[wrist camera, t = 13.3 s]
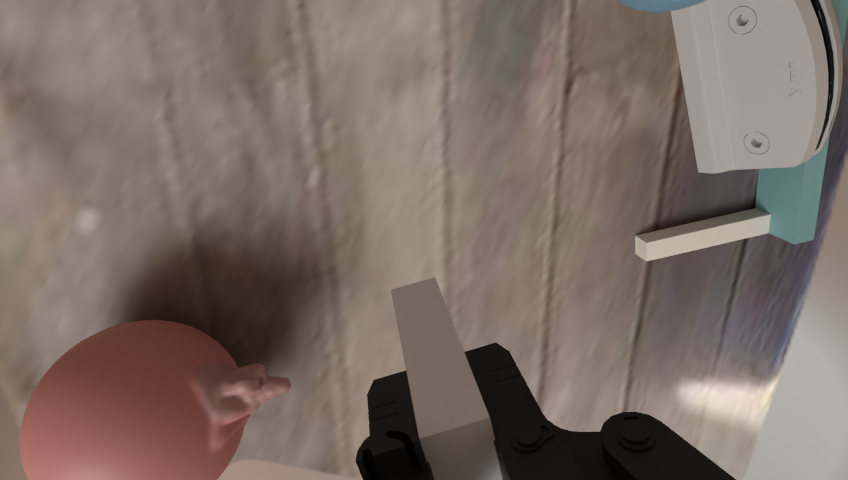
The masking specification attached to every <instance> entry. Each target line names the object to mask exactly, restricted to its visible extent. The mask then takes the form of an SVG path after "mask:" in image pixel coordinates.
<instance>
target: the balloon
mask: <svg viewBox="0 0 848 480" xmlns="http://www.w3.org/2000/svg"><path fill="white" fill-rule="evenodd" d="M290 387H291V382H290V380H289V379H288V378H281V377H270V376H268V374H267V369H266V367H265V366H263V365H262V364H258V363H256V364H251V365H247V366H244V367H240V368H238V367H237V365H236V363H235V362H234V360H233V358H232V357H231V356H230V354H229V353H228V352H227V351H226V350H225V349H224V347H223V346H221V345H220V344H219V343H218V342H217V341H216V340H215V339H213V338H212V337H210V336H209V335H207V334H206V333H204V332H202V331H200V330H198V329H196V328H193V327H191V326H188V325H185V324H181V323H177V322H172V321H164V320H142V321H134V322H128V323H124V324H120V325H116V326H113V327H110V328H107V329H105V330H102V331H100V332H98V333H96V334H94V335H92V336H90V337H88V338H86V339H85V340H83V341H81V342H80V343H78V344H77V345H75V346H74V347H72V348H71V349H70V350H69V351H67V352H66V353H65V354H64V355H63V356H61V357H60V358H59V359H58V360H57V361H56V362H55V363H54V364H53V365H52V366H51V368H50V369H49V370H48V371H47V372H46V374H45V375H44V376H43V377H42V379H41V380H40V382H39V383H38V385H37V387H36V388H35V390H34V392H33V394H32V396H31V398H30V400H29V402H28V405H27V407H26V410H25V413H24V416H23V420H22V425H21V432H20V453H21V459H22V464H23V467H24V471H25V474H26V476H27V478H28V480H217V479H218V478H219V477H220V476H221V474H222V473H223V472H224V470H225V469H226V467H227V466H228V464H229V463H230V461H231V459H232V458H233V456H234V454H235V452H236V450H237V448H238V445H239V443H240V440H241V437H242V434H243V430H244V426H245V425H246V423H247V420H248V418H249V416H250V414H251V413H253V412H254V411H256V410H257V409H258V407H259V406H260V405H261V404H262V403H263V402H266V401H267V400H269V399H271V398H273V397H275V396H277V395H278V394H279V393H285V392H287V391H288V390H289V389H290Z"/></svg>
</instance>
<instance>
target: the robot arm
mask: <svg viewBox="0 0 848 480" xmlns="http://www.w3.org/2000/svg"><path fill="white" fill-rule="evenodd" d="M617 1H618V2H620V3H621V4H623V5H624V6H626V7H629V8H631V9H638V10H642V11H645V12H656V13H657V12H667V11H674V10H679V9H683V8H687V7H690V6H693V5H696V4H699V3H702V2H705V1H707V0H617ZM391 292H392V298H393V303H394V308H395V313H396V319H397V324H398V329H399V334H400V340H401V345H402V350H403V356H404V361H405V366H406V371H403V372H400V373H396V374H393V375H390V376H386V377H383V378H379V379H376V380H374V381H373V383H372V385H371V388H370V390H369V392H368V394H367V398H368V410H369V412H368V413H369V423H370V424H369V429H370V436H369V437H368V438H367V439H366V440H364V442H363V443H362V445H361V446H360V448H359V449H358V452H357V457H356V463H357V465H358V468H359V470H360V473H361V475H362V478H363V480H736V479H734V478H733V477H732V476H731V475H729V474H728V473H727V472H725V471H724V470H723V469H721V468H720V467H719V466H718V465H716V464H715V463H714V462H712V461H711V460H710V459H709V458H707V457H706V456H705V455H703V454H702V453H701V452H700V451H698V450H697V449H696V448H694V447H693V446H692V445H690V444H689V443H688V442H687V441H685V440H684V439H683V438H681V437H680V436H679V435H678V434H676V433H675V432H674V431H672V430H671V429H670V428H669V427H667V426H666V425H665V424H663V423H662V422H661V421H659V420H657V419H655V418H654V417H652V416H650V415H647V414H642V413H638V412H622V413H620V414H617V415H614V416H611V417H610V418H609V419H608V420H607V421H606V422H604V424H603V426H602V429H601V431H600V432H573V431H568V430H564V429H561V428H559V427H557V426H555V425H553V424H552V422H550V421H548V420H547V419H546V417H545V416H544V415H543V413H542V412H541V410H540V408H539V406H538V404H537V402H536V400H535V399H534V397H533V395H532V393H531V391H530V389H529V387H528V386H527V384H526V382H525V380H524V378H523V376H522V375H521V373H520V371H519V369H518V367H517V366H516V363H515V361H514V360H513V358H512V356H511V354H510V352H509V351H508V350H506V349H505V348H503V347H502V346H500V345H499V344H497V343H493V344H490V345H487V346H483V347H480V348H476V349H473V350H470V351H466V352H464V350H463V348H462V345H461V343H460V340H459V337H458V335H457V332H456V330H455V327H454V325H453V322H452V320H451V317H450V314H449V312H448V309H447V307H446V304H445V302H444V299H443V297H442V294H441V291H440V289H439V286H438V284H437V281H436V279H435V277H434V278H431V279H427V280H424V281H421V282H417V283H414V284H410V285H407V286H403V287H400V288H396V289H393V290H391Z"/></svg>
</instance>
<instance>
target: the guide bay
mask: <svg viewBox="0 0 848 480" xmlns="http://www.w3.org/2000/svg"><path fill="white" fill-rule="evenodd" d="M830 1H831V4H832V7H833V10H834V13H835V16H836V20H837V24H838V28H839V33H840V39H841V46H842V52H843V46H844V39H845V33H846V26H847V20H848V0H830ZM829 137H830V134H829V136H828V139H827V141H826V143H825V144H824V146H823V148H822V149H821V150H820V152H818V153H817V154H815V155H813V156H812V157H811V159H809V160H808V161H806V162H804V163H802V164H800V165H798V166H795V167H786V168H762V169H759V173H758V183H757V193H756V203H755V208H754V209H750V210H745V211H741V212H737V213H732V214H728V215H723V216H719V217H715V218H710V219H706V220H701V221H697V222H693V223H688V224H684V225H679V226H675V227H671V228H666V229H662V230H658V231H653V232H649V233H644V234H640V235H636V236H635V254H637V255H638V256H640V257H641V258H642V259H644V260H645V261H650V260H655V259H659V258H663V257H668V256H672V255H676V254H681V253H685V252H689V251H693V250H698V249H702V248H706V247H711V246H715V245H719V244H724V243H728V242H732V241H736V240H741V239H745V238H749V237H754V236H758V235H762V234H767V233H770V234H772V235H774V236H777V237H779V238H781V239H784V240H786V241H788V242H790V243H793V244H797V243H801V242H806V241H810V240H814V234H815V227H816V221H817V215H818V208H819V202H820V195H821V189H822V182H823V176H824V169H825V163H826V156H827V150H828V143H829Z"/></svg>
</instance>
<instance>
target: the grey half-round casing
mask: <svg viewBox="0 0 848 480" xmlns="http://www.w3.org/2000/svg"><path fill="white" fill-rule="evenodd" d="M671 16H672V21H673V27H674V33H675V39H676V45H677V51H678V56H679V62H680V68H681V74H682V80H683V85H684V91H685V97H686V103H687V109H688V115H689V120H690V126H691V132H692V138H693V144H694V150H695V155H696V161H697V167H698V172H701V173H712V174H714V173H721V172H725V171H730V170H738V169H762V168H786V167H795V166H798V165H800V164H802V163H804V162H806V161H808V160H809V159H811V157H812V156H813V155H815V154H817V153H818V152H820V150H821V149H822V148H823V146H824V144H825V143H826V141H827V139H828V136H829V134H830V132H831V129H832V126H833V123H834V120H835V117H836V114H837V110H838V106H839V102H840V95H841V89H842V77H843V58H842V46H841V39H840V33H839V28H838V24H837V20H836V16H835V13H834V10H833V7H832V4H831V1H830V0H707V1H705V2H702V3H699V4H696V5H693V6H690V7H687V8H683V9H679V10H674V11H671Z"/></svg>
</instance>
